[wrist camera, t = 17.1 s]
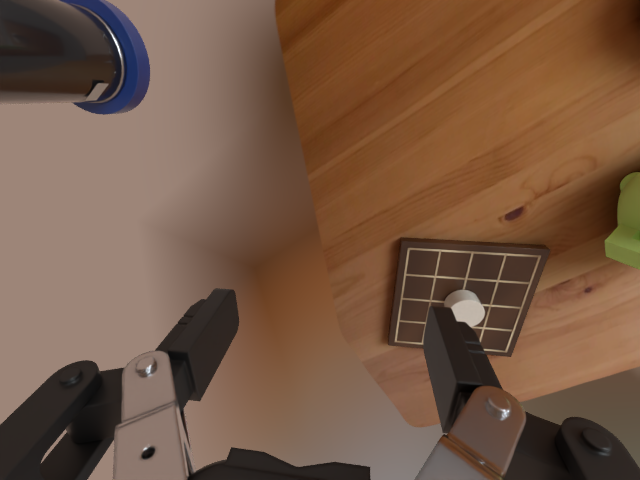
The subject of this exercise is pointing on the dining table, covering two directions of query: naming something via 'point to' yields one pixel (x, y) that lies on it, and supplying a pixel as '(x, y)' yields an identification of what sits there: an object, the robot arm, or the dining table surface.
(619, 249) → the teapot
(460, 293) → the white cylindrical puck
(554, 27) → the dining table surface
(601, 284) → the dining table surface
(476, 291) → the board
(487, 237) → the dining table surface
